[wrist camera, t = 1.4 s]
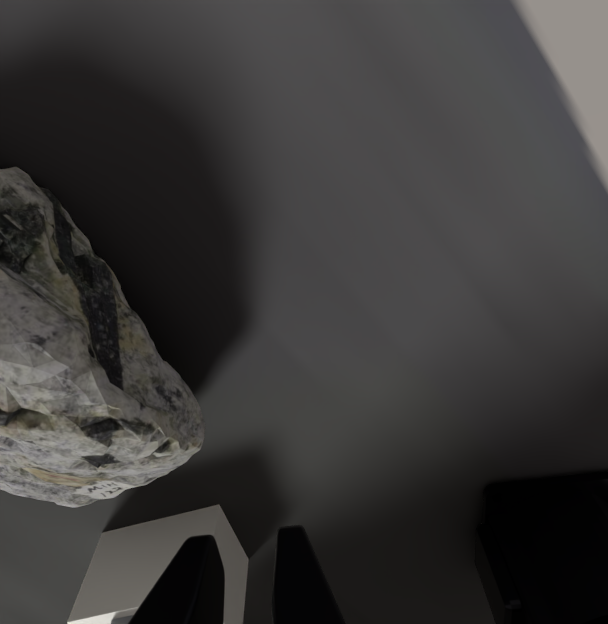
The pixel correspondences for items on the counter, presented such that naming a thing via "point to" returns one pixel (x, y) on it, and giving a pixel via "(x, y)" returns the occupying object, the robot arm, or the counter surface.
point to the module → (155, 566)
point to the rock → (77, 365)
